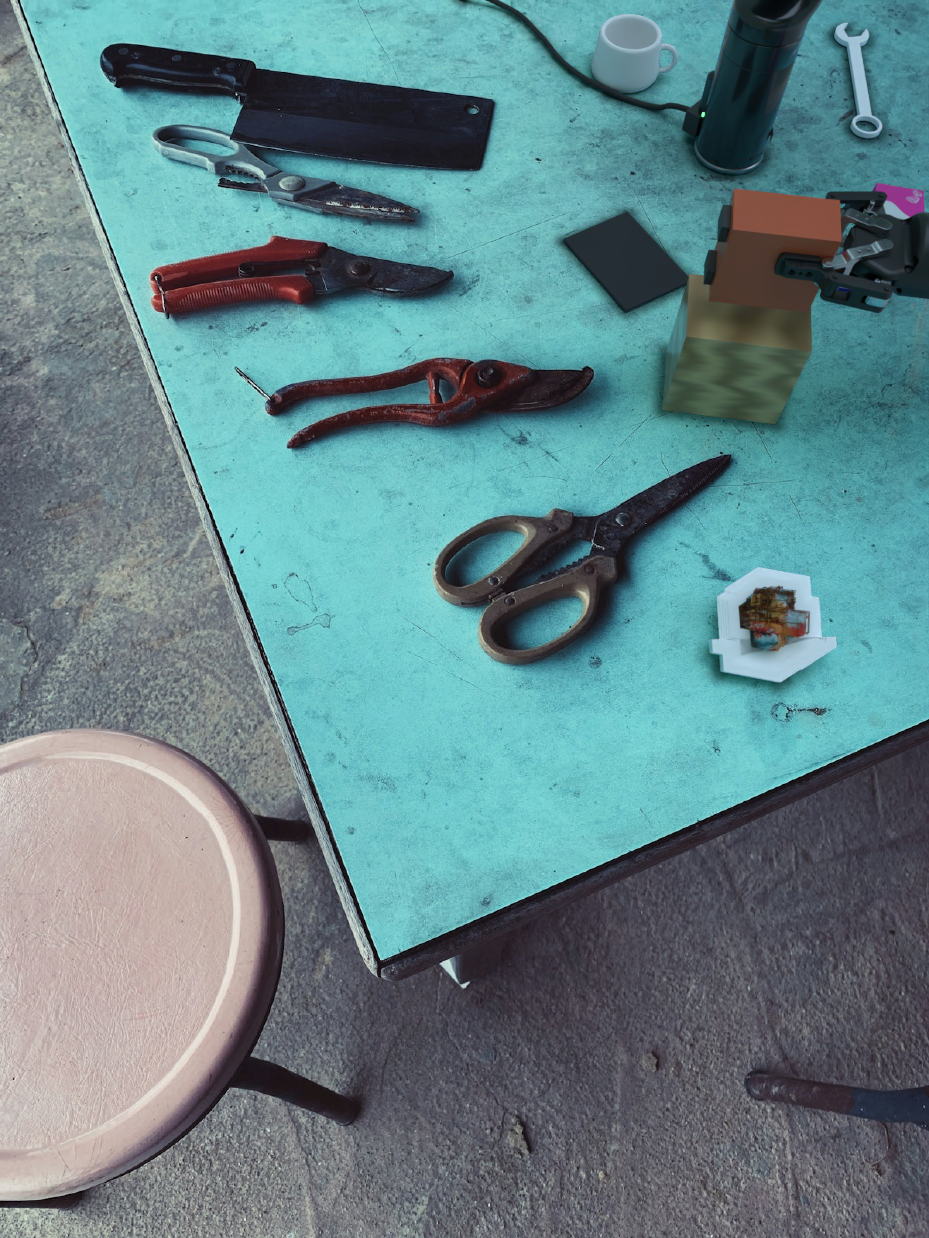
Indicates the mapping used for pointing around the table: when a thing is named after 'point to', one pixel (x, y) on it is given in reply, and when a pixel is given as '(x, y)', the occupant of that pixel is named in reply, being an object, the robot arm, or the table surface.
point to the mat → (626, 261)
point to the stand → (733, 357)
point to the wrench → (858, 80)
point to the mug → (630, 53)
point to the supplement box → (899, 204)
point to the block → (769, 248)
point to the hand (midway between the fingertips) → (777, 239)
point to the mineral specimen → (769, 626)
